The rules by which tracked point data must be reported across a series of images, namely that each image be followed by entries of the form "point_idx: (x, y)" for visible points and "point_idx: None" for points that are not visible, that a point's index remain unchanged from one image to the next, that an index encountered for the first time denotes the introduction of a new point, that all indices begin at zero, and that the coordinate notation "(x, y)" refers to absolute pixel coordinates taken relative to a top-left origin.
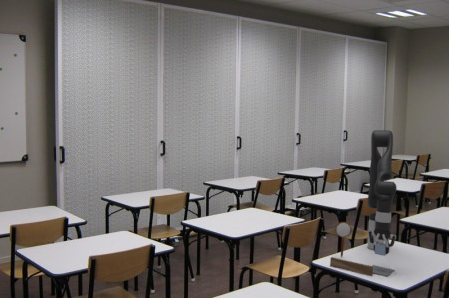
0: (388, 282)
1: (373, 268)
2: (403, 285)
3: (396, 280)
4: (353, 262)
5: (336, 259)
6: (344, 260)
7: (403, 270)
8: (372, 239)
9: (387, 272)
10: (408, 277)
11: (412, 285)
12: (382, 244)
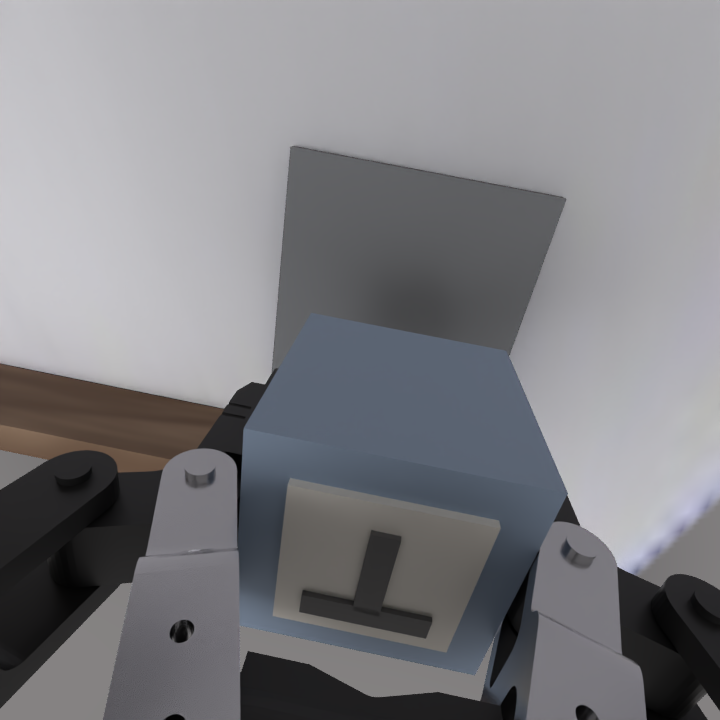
0: None
1: (324, 286)
2: (614, 539)
3: (565, 466)
4: (130, 463)
5: None
6: (32, 444)
7: (700, 107)
8: (38, 536)
9: (482, 340)
10: (709, 345)
11: (698, 516)
12: (404, 636)
